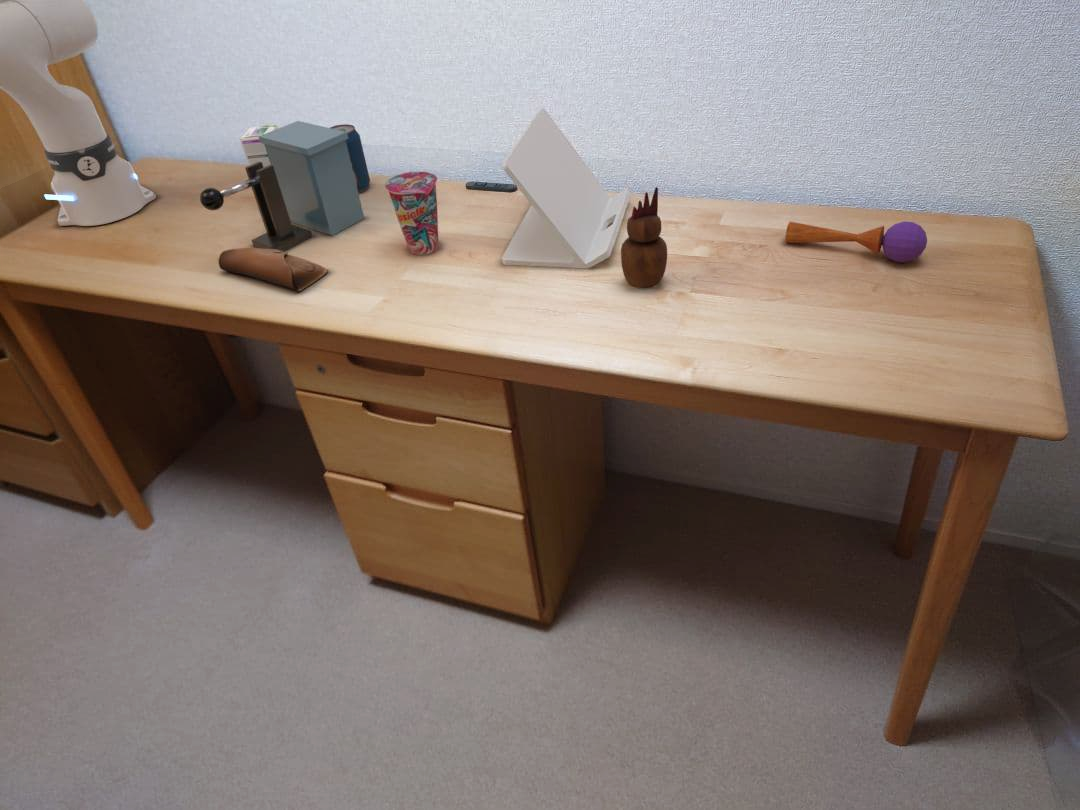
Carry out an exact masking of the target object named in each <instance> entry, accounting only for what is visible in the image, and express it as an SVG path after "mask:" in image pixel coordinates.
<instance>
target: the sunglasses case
mask: <svg viewBox="0 0 1080 810" xmlns="http://www.w3.org/2000/svg"><path fill="white" fill-rule="evenodd" d="M218 267H219V268H220V270H222V271H225V272H229V273H235V274H240V275H246V276H248V277H252V278H255V279H259V280H263V281H266V282H269V283H273V284H276V285H280V286H282V287H286V288H289V289H293V290H296V291H298V292H302V291H304V290H305V289H307V288H309V287H311V286H312V285H314V284H315V283H316V282H318V281H319V280H321V278H323V277H324V276H325V275H327V273H328V271H329V270H328V269H327V268H326V267H324V266H322V265H321V264H318V263H315V262H312V261H310V260H307V259H304V258H301V257H298V256H295V255H290V254H289V253H288V252H287V251H281V250H276V249H263V248H258V247H239V248H231V249H226V250H223V251H222V252H221V253H220V254H219V257H218Z"/></svg>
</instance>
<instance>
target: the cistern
mask: <svg viewBox="0 0 1080 810" xmlns="http://www.w3.org/2000/svg"><path fill="white" fill-rule="evenodd" d="M346 139H348V135H347V132H344V131H340V130H336V129H331V128H330V127H327V126H322V125H318V124H314V123H311V122H310V123H309V122H305V121H301V120H296V121H294V122H291V123H288V124H286V125H284V126H281V127H278V129H276V130H273V131H271V132H268V133H266V134H263V135H261V136H259V140H260V143H263V144H264V145H265V148H266V152H267V155H268V158H269V161H270V164H271V165H273V167H274V170H275V173H276V176H277V180H278V183H279V186H280V189H281V192H282V196H283V199H284V202H285V205H286V209H287V212H288V215H289V218H290V221H291V223H294V224H295V225H299V226H303V227H304V228H308V229H311V230H314V231H317V232H320V233H323V234H325V235H328V236H331V237H332V236H335V235H336V234H338V233H340V232H342V231H343V230H346V229H348V228H350V227H351V226H354V225H355V224H357V223H359V222H361V221H363V220H365V219H366V218H365V215H364V210H363V206H362V201H361V197H360V193H358V189H357V185H356V181H355V177H354V173H353V169H352V165H351V161H350V157H349V153H348V148H347V144H346Z"/></svg>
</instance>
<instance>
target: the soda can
mask: <svg viewBox="0 0 1080 810" xmlns="http://www.w3.org/2000/svg"><path fill="white" fill-rule="evenodd" d="M329 128H331V129H336V130H340V131H344V132H347V135H348V139H346V144H347V148H348V153H349V157H350V161H351V165H352V169H353V173H354V177H355V181H356V185H357V189H358V194H360V193H363V192H365V191H366V190H368V188H369V185H370V182H371V178H370V173H369V169H368V166H367V165H368V164H367V161H366V157H365V156H366V155H365V151H364V148H363V144H362V139H361V135H360V133H359V132H358V131H357V130H356V127H355V126H354V125H352V124H347V123H346V124H337V125H333V126H331V127H329Z"/></svg>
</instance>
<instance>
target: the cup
mask: <svg viewBox="0 0 1080 810" xmlns="http://www.w3.org/2000/svg"><path fill="white" fill-rule="evenodd" d="M437 177H438V176H436V175H435V174H434V173H431V172H428V171H409V172H404V173H401V174H398V175H395V176H393V177H391V178H390V179H388V180H387V181H386V182H385V189H386V190H387V191H388V194H389V197H390V200H391V203H392V207H393V209H394V212H395V215H396V219H397V221H398V223H399V227H400V229H401V232H402V235H403V237H404V239H405V243H406V245H407V248H408V251H409V252H410V254H412V255H416V256H425V255H430V254H432V253H434V252H436V251H437V250H438V249H439V246H440V245H439V244H440V242H439V218H438V217H439V216H438V200H437V184H436V183H437V181H438V178H437Z"/></svg>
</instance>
